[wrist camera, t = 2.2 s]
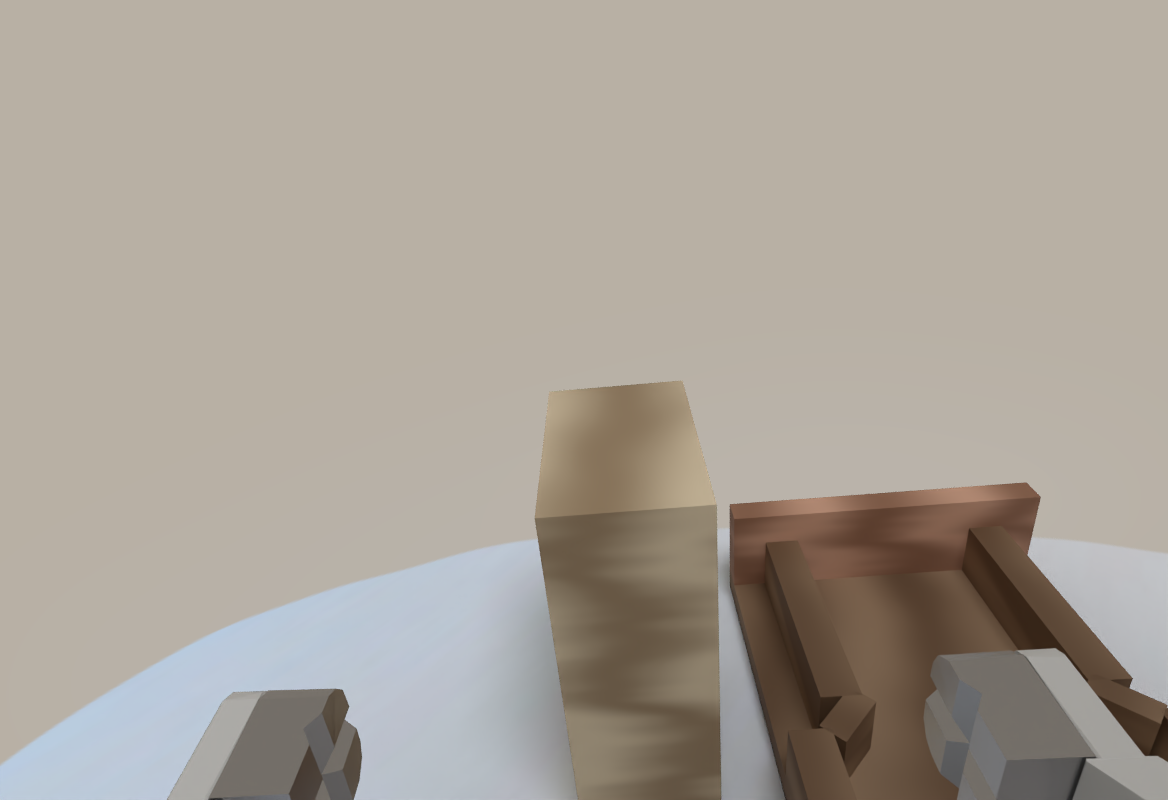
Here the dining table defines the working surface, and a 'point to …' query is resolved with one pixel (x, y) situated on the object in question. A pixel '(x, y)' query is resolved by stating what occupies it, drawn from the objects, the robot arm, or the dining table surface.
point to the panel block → (632, 591)
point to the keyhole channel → (897, 628)
